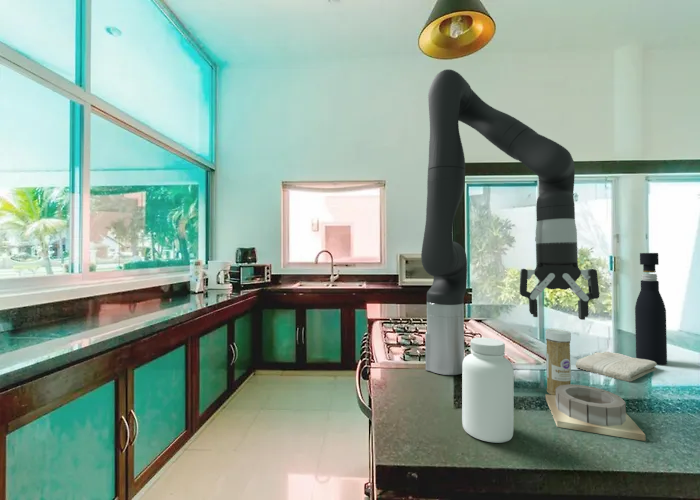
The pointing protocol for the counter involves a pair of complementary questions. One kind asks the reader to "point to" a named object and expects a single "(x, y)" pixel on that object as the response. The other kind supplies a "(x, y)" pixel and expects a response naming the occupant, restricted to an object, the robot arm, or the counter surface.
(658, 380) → the counter surface
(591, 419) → the collar
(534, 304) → the robot arm
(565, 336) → the sprinkles bottle
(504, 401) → the pill bottle
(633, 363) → the washcloth
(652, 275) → the black bottle
